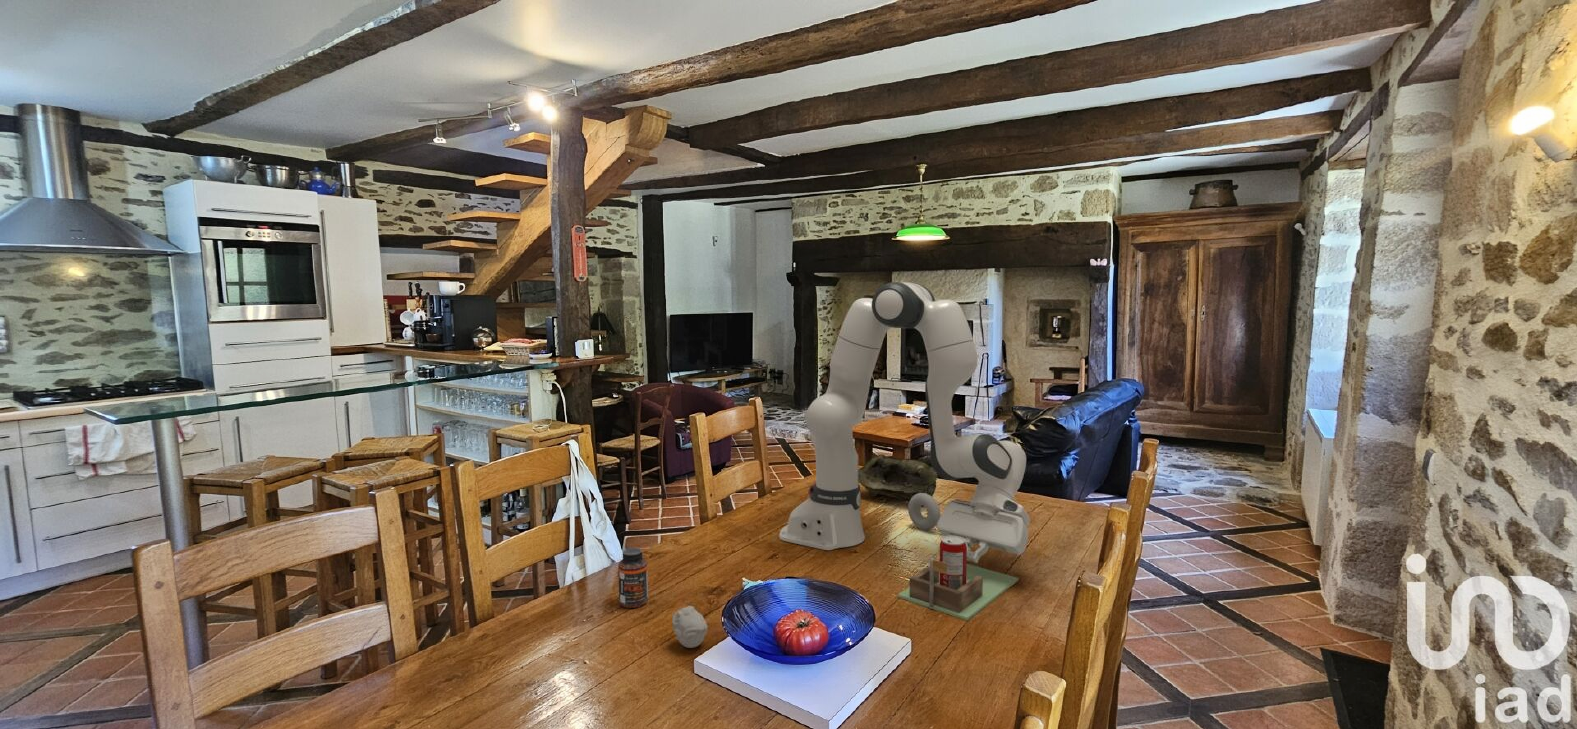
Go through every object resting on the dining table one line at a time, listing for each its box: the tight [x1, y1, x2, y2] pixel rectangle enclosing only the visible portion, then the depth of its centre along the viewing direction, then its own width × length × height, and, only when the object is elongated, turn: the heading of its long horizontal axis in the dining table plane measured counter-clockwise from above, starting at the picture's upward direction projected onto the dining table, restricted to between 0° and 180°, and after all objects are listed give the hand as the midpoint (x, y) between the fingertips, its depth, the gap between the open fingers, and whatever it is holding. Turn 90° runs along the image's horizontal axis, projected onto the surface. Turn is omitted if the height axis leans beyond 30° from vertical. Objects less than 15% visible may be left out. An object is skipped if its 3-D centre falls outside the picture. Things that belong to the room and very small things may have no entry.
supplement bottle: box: [617, 547, 649, 609], centre depth 141 cm, size 6×6×11 cm
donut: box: [907, 493, 941, 531], centre depth 182 cm, size 10×4×10 cm, turn 40°
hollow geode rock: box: [858, 454, 939, 508], centre depth 209 cm, size 28×13×15 cm
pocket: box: [909, 557, 983, 613], centre depth 140 cm, size 12×11×10 cm
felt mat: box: [897, 563, 1019, 622], centre depth 146 cm, size 24×16×1 cm, turn 138°
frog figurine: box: [671, 605, 709, 649], centre depth 124 cm, size 6×7×7 cm
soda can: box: [939, 535, 968, 590], centre depth 142 cm, size 6×6×12 cm
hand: (969, 560), depth 149 cm, fingers closed
